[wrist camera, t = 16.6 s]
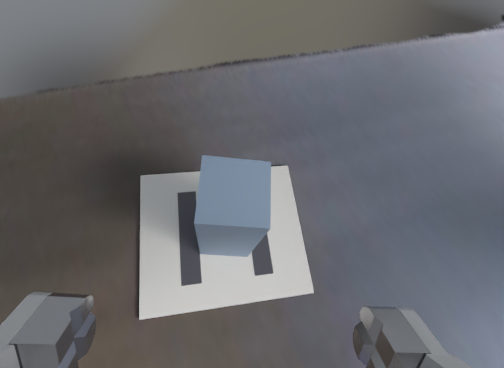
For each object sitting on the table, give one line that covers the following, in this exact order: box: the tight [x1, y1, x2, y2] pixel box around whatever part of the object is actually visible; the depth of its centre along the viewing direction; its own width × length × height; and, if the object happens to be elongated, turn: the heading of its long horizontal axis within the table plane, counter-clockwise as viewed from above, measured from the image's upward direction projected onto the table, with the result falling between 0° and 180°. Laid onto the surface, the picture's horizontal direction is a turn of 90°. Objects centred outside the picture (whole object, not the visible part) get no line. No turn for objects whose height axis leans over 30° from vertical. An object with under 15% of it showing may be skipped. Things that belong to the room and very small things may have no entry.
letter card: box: [139, 166, 314, 320], centre depth 25 cm, size 14×12×1 cm
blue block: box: [194, 155, 271, 257], centre depth 20 cm, size 4×4×10 cm
